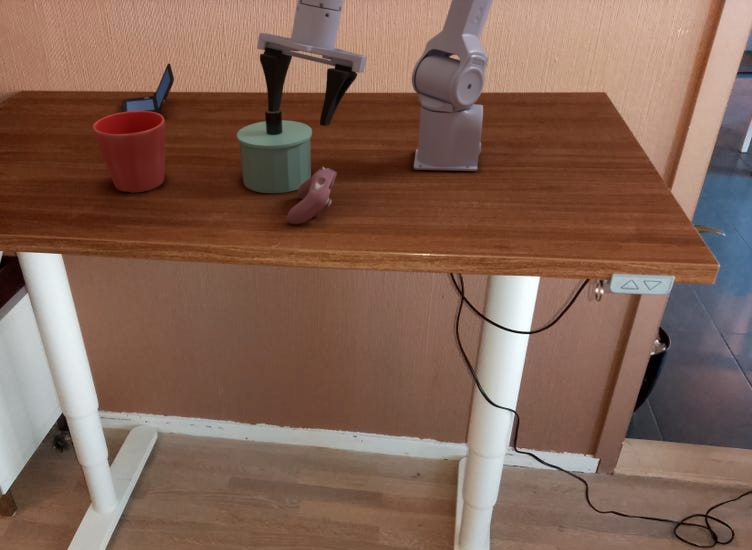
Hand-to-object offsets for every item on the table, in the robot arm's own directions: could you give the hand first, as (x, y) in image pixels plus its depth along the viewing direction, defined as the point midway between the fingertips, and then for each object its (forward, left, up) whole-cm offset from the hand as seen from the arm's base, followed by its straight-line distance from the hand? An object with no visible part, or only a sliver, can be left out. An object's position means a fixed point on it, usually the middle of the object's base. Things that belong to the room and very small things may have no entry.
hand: (298, 117), depth 97 cm
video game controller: (-2, +3, -12) cm, 13 cm away
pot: (+5, -8, -12) cm, 16 cm away
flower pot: (+27, -5, -12) cm, 30 cm away
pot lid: (+5, -8, -5) cm, 11 cm away
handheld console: (+38, -41, -12) cm, 57 cm away
